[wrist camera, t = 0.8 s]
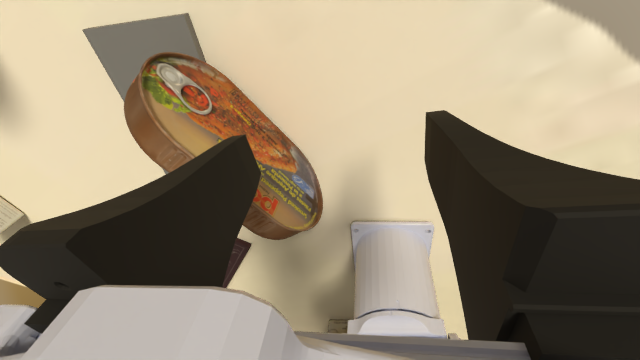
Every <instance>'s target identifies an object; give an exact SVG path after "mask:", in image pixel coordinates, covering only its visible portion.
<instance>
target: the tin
mask: <svg viewBox="0 0 640 360" xmlns="http://www.w3.org/2000/svg"><path fill="white" fill-rule="evenodd" d="M124 113H125V118H126V122H127V125H128V128H129V130H130V132H131V134H132V136H133V137H134V139H135V141H136V142H137V143H138V145H139V146H140V148H141V149H142V150H143V151H144V152H145V153H146V154H147V155H148V156H149V157H150V158H151V159H152V160H153V161H154V162H156V163H157V164H158V165H159V166H160V167H162V168H163V169H165V170H166V171H167V172H169V173H170V172H172V171H173V170H175V169H177V168H178V167H180V166H182V165H184V164H185V163H187V162H189V161H190V160H192V159H194V158H195V157H197V156H198V155H200V154H202V153H203V152H205V151H206V150H208V149H210V148H211V147H213V146H214V145H216V144H218V143H219V142H221V141H223V140H225V139H227V138H229V137H231V136H237V135H246V137H247V140H248V142H249V144H250V147H251V149H252V152H253V154H254V157H255V159H256V162H257V164H258V167H259V169H260V172H261V176H260V181H259V185H258V188H257V192H256V194H255V197H254V199H253V202H252V204H251V206H250V209H249V211H248V213H247V215H246V218H245V220H244V222H243V224H242V225H243V226H245V227H246V228H248V229H249V230H250V231H252V232H253V233H255V234H257V235H259V236H261V237H264V238H267V239H273V240H280V239H285V238H288V237H291V236H293V235H295V234H298V233H300V232H302V231H306V230H309V229H311V228H313V227H314V226H315V225H316V224H317V223H318V221H319V219H320V217H321V214H322V209H323V199H322V193H321V189H320V185H319V182H318V179H317V177H316V174H315V172H314V170H313V168H312V166H311V164H310V163H309V161H308V160H307V158H306V157H305V156H304V154H303V153H302V152H301V151H300V150H299V148H298V147H297V146H296V145H295V144H294V143H293V142H292V141H291V140H290V139H289V138H288V137H287V136H286V135H285V134H284V133H283V132H282V131H281V130H280V129H279V128H278V127H277V126H276V125H274V124H273V122H271V121H270V120H269V119H268V118H267V117H266V116H265V115H264V114H263V113H262V112H261V111H260V110H259V109H258V108H257V107H256V105H255V104H254V103H252V102H251V101H250V100H249V99H248V98H247V97H246V96H245V95H244V94H243V93H242V92H241V91H240V90H239V89H238V88H237V87H236V86H235V85H234V84H233V83H232V82H231V81H230V80H229V79H228V78H227V77H226V76H225V75H223V74H222V73H221V72H219V71H218V70H217V69H215V68H214V67H212V66H210V65H209V64H207V63H205V62H203V61H201V60H199V59H197V58H195V57H192V56H189V55H186V54H181V53H176V52H163V53H158V54H155V55H153V56H151V57H150V58H148V59H147V60H146V61H145V62H144V63H143V65H142V67H141V69H140V73H139V74H138V75H137V77H136V78H135V79H134V81H133V82H132V83H131V85H130V87H129V89H128V91H127V93H126V97H125V102H124Z"/></svg>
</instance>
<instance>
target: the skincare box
mask: <svg viewBox="0 0 640 360" xmlns="http://www.w3.org/2000/svg"><path fill="white" fill-rule="evenodd" d="M23 216H24V214H23V213H22V212H21V211H19V210H18V209H17V208H15V207H14V206H12V205H11V204H10V203H8V202H7V201H5V200H4V199H3V198H1V197H0V234H1V233H2V232H3V231H5V230H6V229H7V228H8V227H10V226H11V225H12V224H13V223H15V222H16V221H17V220H19V219H20V218H21V217H23Z"/></svg>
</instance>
